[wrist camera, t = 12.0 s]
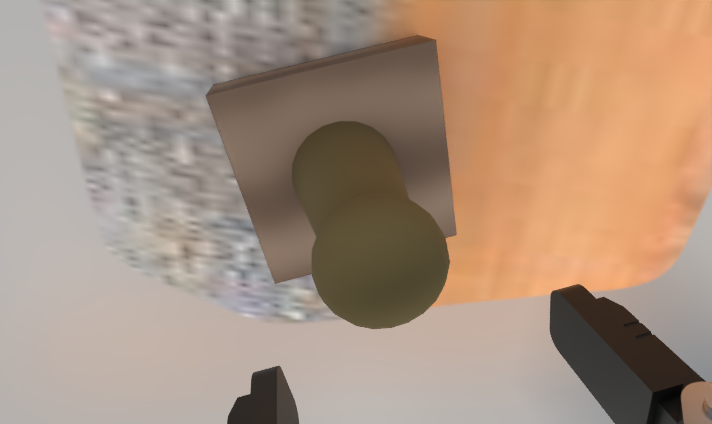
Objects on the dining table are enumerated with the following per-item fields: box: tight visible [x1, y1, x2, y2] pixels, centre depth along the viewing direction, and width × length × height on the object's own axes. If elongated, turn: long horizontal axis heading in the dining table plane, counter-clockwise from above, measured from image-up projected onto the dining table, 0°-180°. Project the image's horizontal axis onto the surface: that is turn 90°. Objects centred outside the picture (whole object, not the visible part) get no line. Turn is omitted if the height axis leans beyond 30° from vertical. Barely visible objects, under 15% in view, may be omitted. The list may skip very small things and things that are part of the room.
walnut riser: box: [206, 35, 456, 284], centre depth 26 cm, size 12×12×3 cm
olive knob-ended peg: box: [292, 121, 450, 329], centre depth 20 cm, size 6×6×11 cm
